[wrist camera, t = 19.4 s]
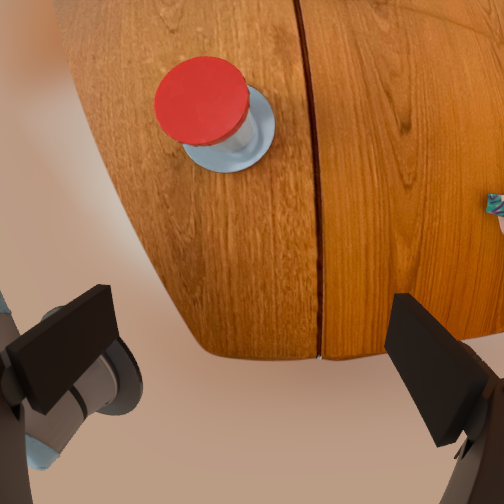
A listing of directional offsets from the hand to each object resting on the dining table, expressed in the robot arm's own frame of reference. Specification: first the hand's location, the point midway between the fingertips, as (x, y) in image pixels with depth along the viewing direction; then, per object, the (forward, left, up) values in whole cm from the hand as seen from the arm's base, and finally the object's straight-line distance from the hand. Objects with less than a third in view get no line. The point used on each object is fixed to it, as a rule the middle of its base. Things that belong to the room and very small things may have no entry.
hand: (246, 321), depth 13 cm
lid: (-4, +12, -10) cm, 17 cm away
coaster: (-5, +12, -23) cm, 26 cm away
